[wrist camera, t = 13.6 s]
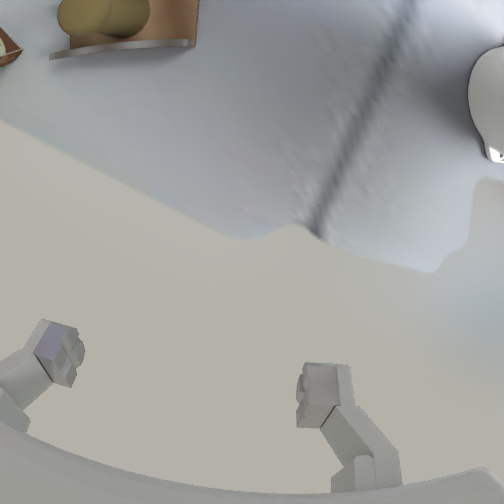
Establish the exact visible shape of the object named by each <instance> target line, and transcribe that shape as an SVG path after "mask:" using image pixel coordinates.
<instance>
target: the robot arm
mask: <svg viewBox="0 0 504 504" xmlns="http://www.w3.org/2000/svg"><path fill="white" fill-rule="evenodd" d="M468 100H469V108H470V112H471V116H472V119H473V121H474V124H475V126H476V128H477V130H478V131H479V133H480V134H481V136H482V138H483V140H484V145H485V151H486V155H487V157H488V159H489V160H491V161H493V162H496V163H504V46H502V47H498V48H494V49H491V50H489V51H487V52H486V53H484V54H483V55H482V56H481V57H480V58H479V59H478V61H477V62H476V64H475V66H474V68H473V70H472V73H471V76H470V80H469V88H468ZM500 153H501V155H500ZM499 155H500V156H499ZM78 335H79V333H78V331H77V329H76V328H73V327H70V326H66V325H63V324H59V323H55V322H52V321H49V320H45V319H42V320H41V321H40V322H39V323H38V324H37V326H36V328H35V329H34V331H33V332H32V334H31V336H30V337H29V339H28V341H27V343H26V344H25V346H24V348H23V349H22V350H18V351H16V352H14V353H13V354H11V355H10V356H8V357H7V358H5V359H4V360H2V361H1V362H0V504H504V484H503V483H502V482H501V481H500V480H499V479H498V478H497V477H496V476H495V475H494V474H493V473H492V472H491V471H490V470H488V469H487V468H485V467H479V468H475V469H472V470H468V471H464V472H461V473H457V474H454V475H450V476H446V477H442V478H437V479H433V480H428V481H423V482H419V483H413V484H407V485H402V477H401V469H400V462H399V455H398V451H397V450H396V448H395V447H394V446H393V445H392V444H391V443H390V441H389V440H388V439H387V438H386V437H385V436H384V434H383V433H382V432H381V431H380V430H379V429H378V427H377V426H376V425H375V424H374V423H373V421H372V420H371V419H370V418H369V417H368V415H367V414H366V413H365V412H364V411H363V409H362V408H361V407H360V406H356V405H355V398H354V391H353V384H352V377H351V370H350V367H349V365H347V364H329V363H305V364H304V366H303V368H302V369H303V374H301V375H300V376H299V379H298V383H297V390H296V400H297V401H298V403H299V406H298V408H297V411H296V412H297V413H296V414H297V415H296V417H297V427H300V428H321V429H320V431H321V432H322V434H323V435H324V437H325V438H326V440H327V441H328V443H329V444H330V446H331V447H332V449H333V451H334V452H335V454H336V455H337V457H338V459H339V460H340V462H341V463H342V465H343V466H344V468H342V469H341V470H340V471H339V472H338V473H336V474H335V475H334V476H333V477H332V478H331V493H322V494H276V493H256V492H243V491H232V490H223V489H215V488H207V487H201V486H194V485H188V484H183V483H177V482H172V481H167V480H162V479H158V478H153V477H148V476H145V475H141V474H136V473H133V472H129V471H125V470H122V469H118V468H115V467H112V466H108V465H105V464H102V463H99V462H96V461H93V460H89V459H87V458H84V457H81V456H78V455H75V454H73V453H70V452H68V451H65V450H62V449H60V448H57V447H55V446H52V445H50V444H48V443H45V442H43V441H41V440H38V439H36V438H34V437H32V436H30V435H28V434H26V432H27V429H28V427H29V424H30V422H31V421H30V418H29V417H28V416H27V415H26V414H25V413H24V412H23V410H24V409H25V408H26V407H27V406H28V405H30V403H32V402H33V401H34V400H35V399H36V398H38V397H39V396H40V395H41V394H42V393H43V392H45V391H46V390H47V389H48V388H49V387H50V386H51V385H53V383H56V384H59V385H63V386H66V387H69V388H71V387H72V384H73V382H74V380H75V378H76V375H77V372H76V368H77V367H79V366H80V365H81V364H82V362H83V359H84V354H85V348H84V344H83V342H82V341H81V340H80V339H79V338H78Z"/></svg>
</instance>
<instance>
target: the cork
mask: <svg viewBox="0 0 504 504" xmlns="http://www.w3.org/2000/svg"><path fill="white" fill-rule="evenodd" d="M149 16H150V5H149V1H148V0H62V2H61V4H60V6H59V9H58V14H57V19H58V23H59V26H60V27H61V29H62V30H63V31H64V32H66V33H67V34H69V35H73V36H84V35H89V34H91V33H93V32H97V33H101V34H105V35H109V36H113V37H117V38H128V37H131V36H133V35H136V34H137V33H138V32H139V31H141V30H142V29H143V27H144V26H145V25H146V24H147V21H148V19H149Z"/></svg>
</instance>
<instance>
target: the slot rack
mask: <svg viewBox="0 0 504 504" xmlns="http://www.w3.org/2000/svg"><path fill="white" fill-rule="evenodd" d="M148 1H149V5H150V16H149V19H148V21H147V24H146V25H145V26H144V27H143V29H142V30H141V31H139V32H138V33H137V34H136V35H133V36H131V37H128V38H117V37H113V36H109V35H105V34H101V33H97V32H93V33H91V34H89V35H84V36H73V35H70V50H66V51H61V52H56V53H51V54H49V60H54V59H59V58H64V57H70V56H76V55H82V54H89V53H96V52H104V51H113V50H123V49H135V48H151V47H195V46H196V33H197V21H198V10H199V0H148Z"/></svg>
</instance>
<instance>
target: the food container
mask: <svg viewBox="0 0 504 504" xmlns="http://www.w3.org/2000/svg"><path fill="white" fill-rule="evenodd" d="M22 51H23V48H22V47H21V46H20V45H19V44H18V43H17V42H16V41H15V40H14V39H13V38H12V37H11V36H10V35H9V33H8V32H7V31H6V30H5V29H4V28H3V27H2V26H1V25H0V67H1V66H4V65H6V64H9V63H11V62H13V61H14V60H15V59H16V58H17V57H18V56H19V55H20V54H21V52H22Z"/></svg>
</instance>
